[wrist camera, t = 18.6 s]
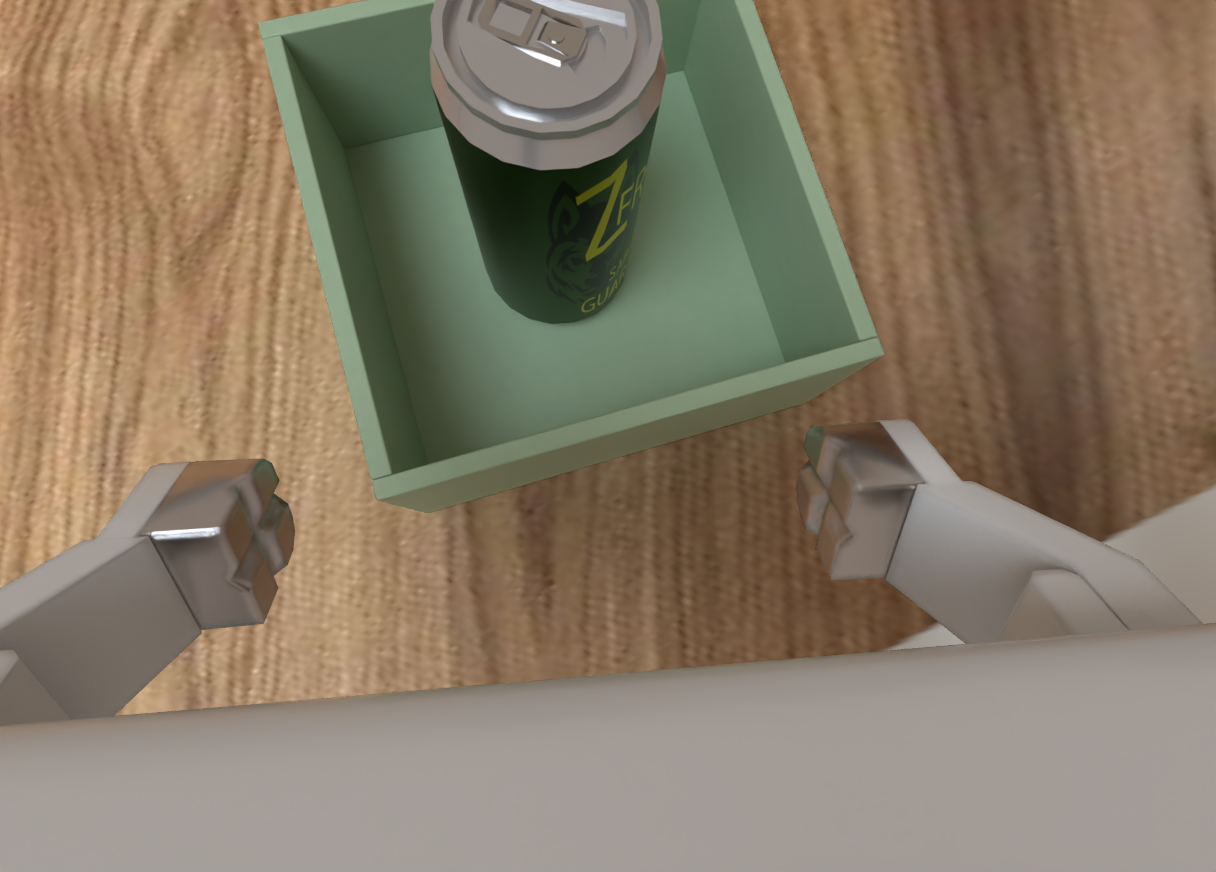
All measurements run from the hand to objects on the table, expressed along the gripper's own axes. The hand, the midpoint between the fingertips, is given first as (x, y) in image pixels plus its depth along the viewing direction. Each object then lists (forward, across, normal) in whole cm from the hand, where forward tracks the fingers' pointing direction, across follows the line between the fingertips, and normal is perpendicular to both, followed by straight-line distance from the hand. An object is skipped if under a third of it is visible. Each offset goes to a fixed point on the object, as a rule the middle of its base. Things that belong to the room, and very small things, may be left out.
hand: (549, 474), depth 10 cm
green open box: (+17, -1, +4) cm, 18 cm away
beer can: (+17, 0, +3) cm, 17 cm away
